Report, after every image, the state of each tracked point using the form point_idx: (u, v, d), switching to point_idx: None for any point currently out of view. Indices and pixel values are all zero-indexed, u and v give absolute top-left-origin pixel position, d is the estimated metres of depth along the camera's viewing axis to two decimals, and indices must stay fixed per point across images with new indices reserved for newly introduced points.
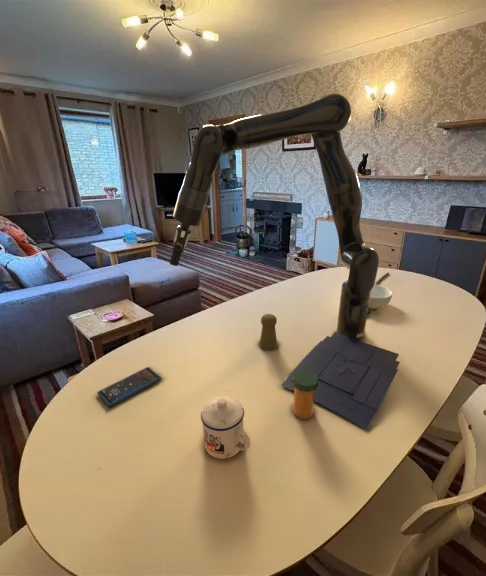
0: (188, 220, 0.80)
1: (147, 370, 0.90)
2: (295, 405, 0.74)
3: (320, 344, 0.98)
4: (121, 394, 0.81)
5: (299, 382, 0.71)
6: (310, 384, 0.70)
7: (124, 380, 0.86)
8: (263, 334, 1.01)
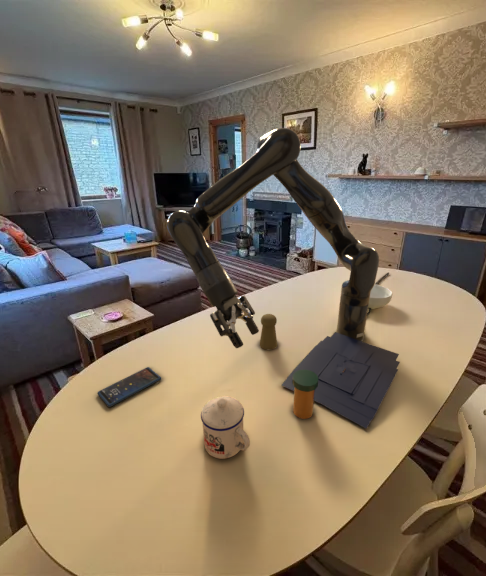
0: (216, 299, 0.74)
1: (147, 370, 0.90)
2: (295, 405, 0.74)
3: (320, 344, 0.98)
4: (121, 394, 0.81)
5: (299, 382, 0.71)
6: (310, 384, 0.70)
7: (124, 380, 0.86)
8: (263, 334, 1.01)
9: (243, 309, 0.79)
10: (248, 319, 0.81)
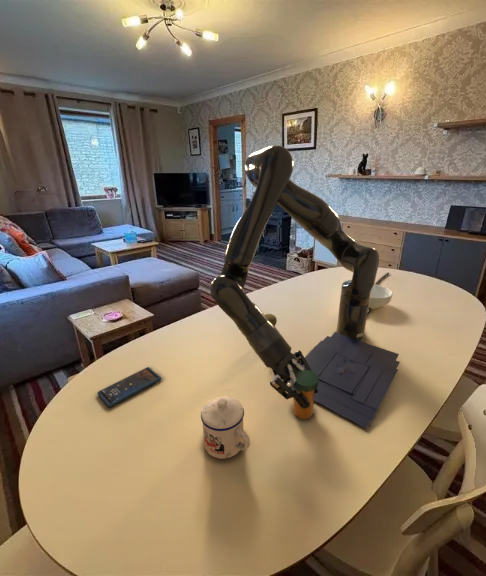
0: (270, 361, 0.71)
1: (147, 370, 0.90)
2: (295, 405, 0.74)
3: (320, 344, 0.98)
4: (121, 394, 0.81)
5: (299, 382, 0.71)
6: (310, 384, 0.70)
7: (124, 380, 0.86)
8: None
9: (299, 367, 0.75)
10: None
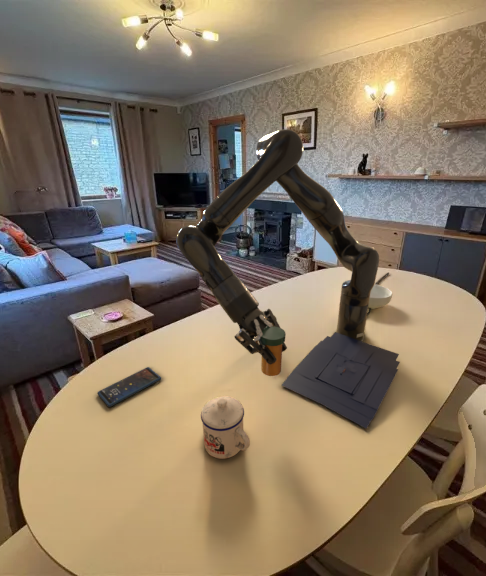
0: (236, 315, 0.69)
1: (147, 370, 0.90)
2: (262, 362, 0.72)
3: (320, 344, 0.98)
4: (121, 394, 0.81)
5: (265, 336, 0.69)
6: (276, 338, 0.68)
7: (124, 380, 0.86)
8: None
9: (267, 323, 0.73)
10: None
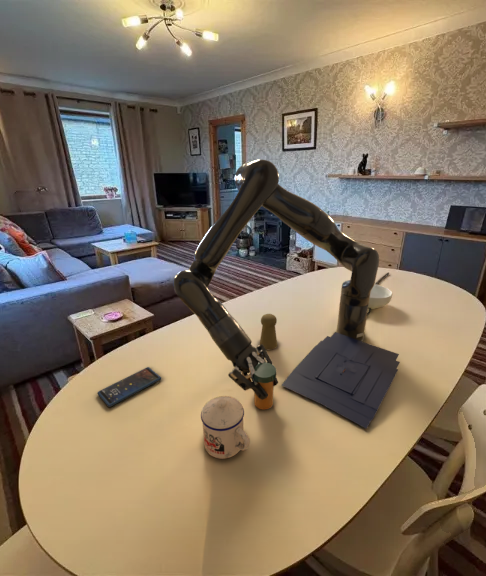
0: (229, 354, 0.74)
1: (147, 370, 0.90)
2: (255, 396, 0.77)
3: (320, 344, 0.98)
4: (121, 394, 0.81)
5: (257, 374, 0.73)
6: (267, 376, 0.73)
7: (124, 380, 0.86)
8: (263, 334, 1.01)
9: (259, 359, 0.77)
10: None
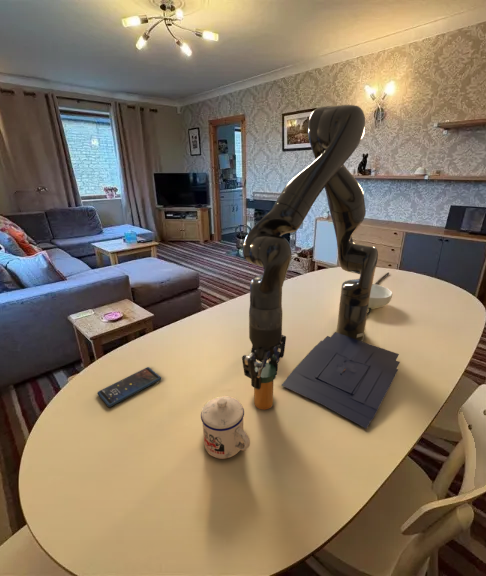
0: (256, 341, 0.68)
1: (147, 370, 0.90)
2: (255, 396, 0.77)
3: (320, 344, 0.98)
4: (121, 394, 0.81)
5: None
6: (267, 376, 0.73)
7: (124, 380, 0.86)
8: None
9: (275, 353, 0.74)
10: (273, 361, 0.76)
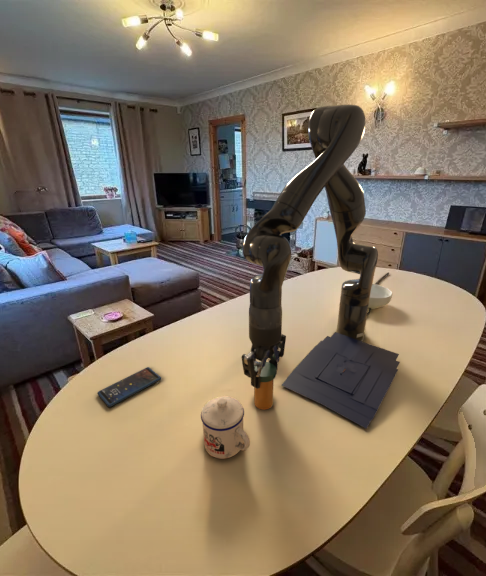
0: (256, 340, 0.68)
1: (147, 370, 0.90)
2: (255, 396, 0.77)
3: (320, 344, 0.98)
4: (121, 394, 0.81)
5: (270, 373, 0.73)
6: (274, 367, 0.75)
7: (124, 380, 0.86)
8: None
9: (275, 353, 0.74)
10: (273, 360, 0.76)
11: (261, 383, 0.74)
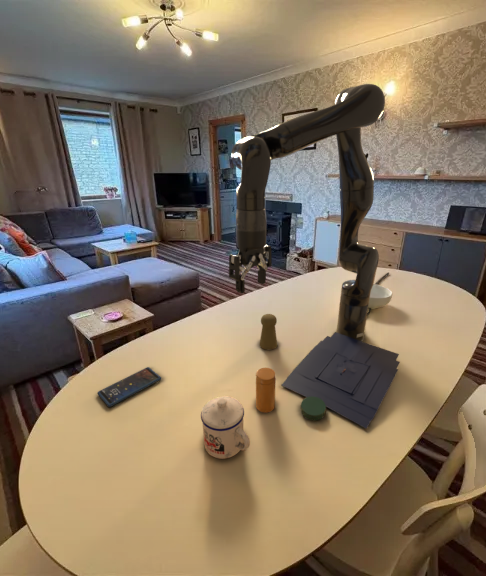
0: (242, 243, 0.75)
1: (147, 370, 0.90)
2: (257, 400, 0.76)
3: (320, 344, 0.98)
4: (121, 394, 0.81)
5: (320, 401, 0.76)
6: (311, 397, 0.78)
7: (124, 380, 0.86)
8: (263, 334, 1.01)
9: (262, 261, 0.80)
10: (262, 269, 0.83)
11: (264, 386, 0.73)
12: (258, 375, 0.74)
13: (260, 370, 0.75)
